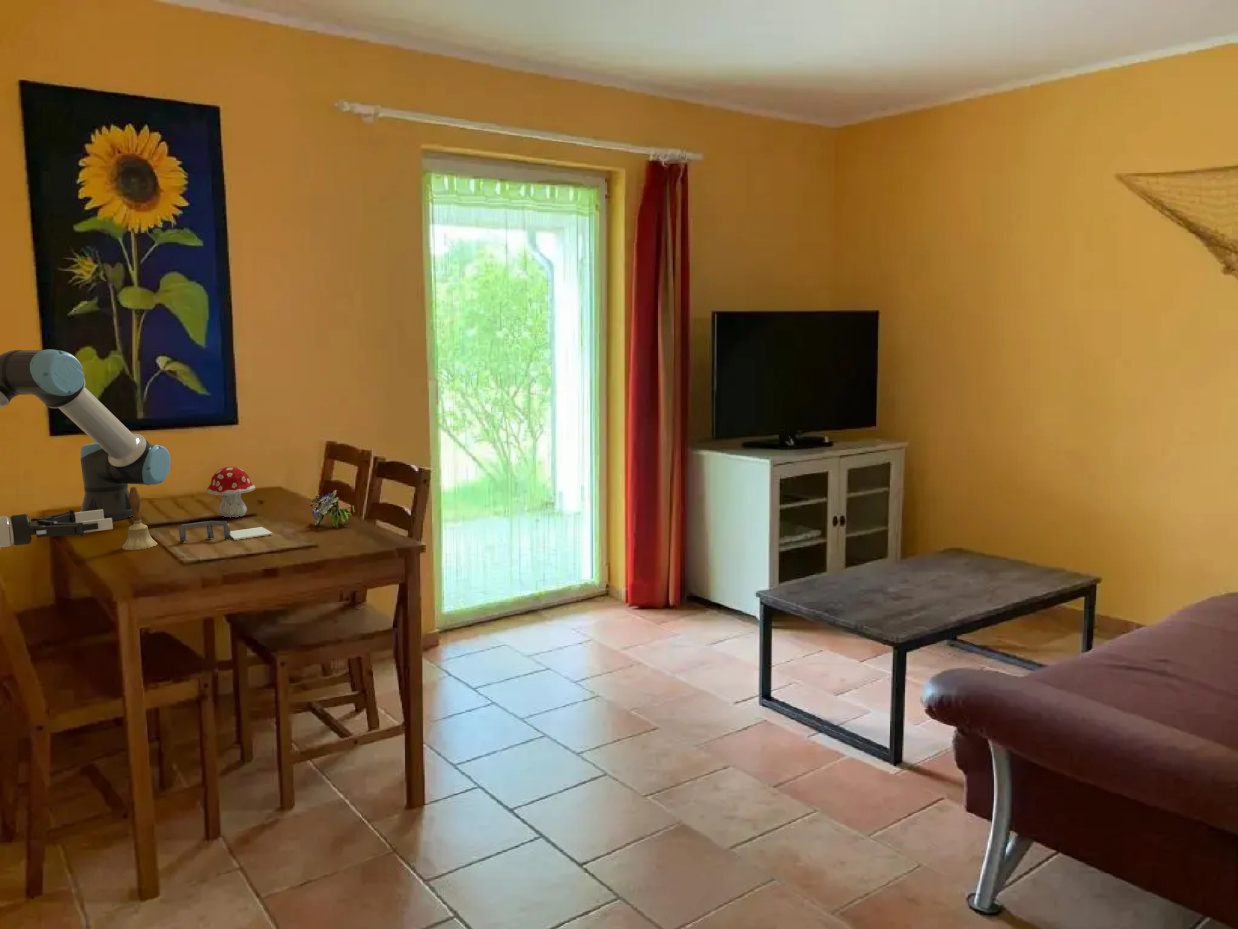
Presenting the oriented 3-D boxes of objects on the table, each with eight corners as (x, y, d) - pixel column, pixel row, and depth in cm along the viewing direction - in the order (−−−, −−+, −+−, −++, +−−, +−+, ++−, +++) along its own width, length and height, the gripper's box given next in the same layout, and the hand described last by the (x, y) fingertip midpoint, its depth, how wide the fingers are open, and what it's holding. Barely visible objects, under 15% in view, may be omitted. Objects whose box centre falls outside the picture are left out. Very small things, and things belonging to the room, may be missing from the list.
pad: (225, 534, 266) (224, 532, 265) (262, 528, 271) (261, 526, 271) (235, 540, 258) (234, 538, 257) (272, 535, 263) (272, 533, 263)
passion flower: (319, 544, 276) (302, 508, 278) (354, 531, 282) (338, 496, 284) (325, 528, 267) (308, 491, 269) (362, 516, 273) (344, 480, 275)
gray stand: (179, 542, 257) (177, 524, 256) (226, 535, 264) (225, 518, 263) (183, 546, 253) (182, 528, 252) (231, 539, 260) (230, 521, 259)
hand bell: (143, 551, 248) (137, 490, 246) (115, 549, 250) (109, 489, 247) (164, 543, 256) (158, 484, 254) (136, 542, 258) (131, 483, 255)
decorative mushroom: (197, 519, 285) (193, 469, 283) (230, 510, 298) (226, 462, 296) (236, 522, 281) (232, 471, 279) (267, 512, 294) (264, 464, 292)
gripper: (8, 536, 246) (101, 524, 258) (17, 555, 226) (117, 542, 238) (5, 507, 244) (98, 497, 257) (13, 524, 224) (114, 512, 237)
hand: (108, 518), depth 247 cm, fingers open, 13 cm apart
